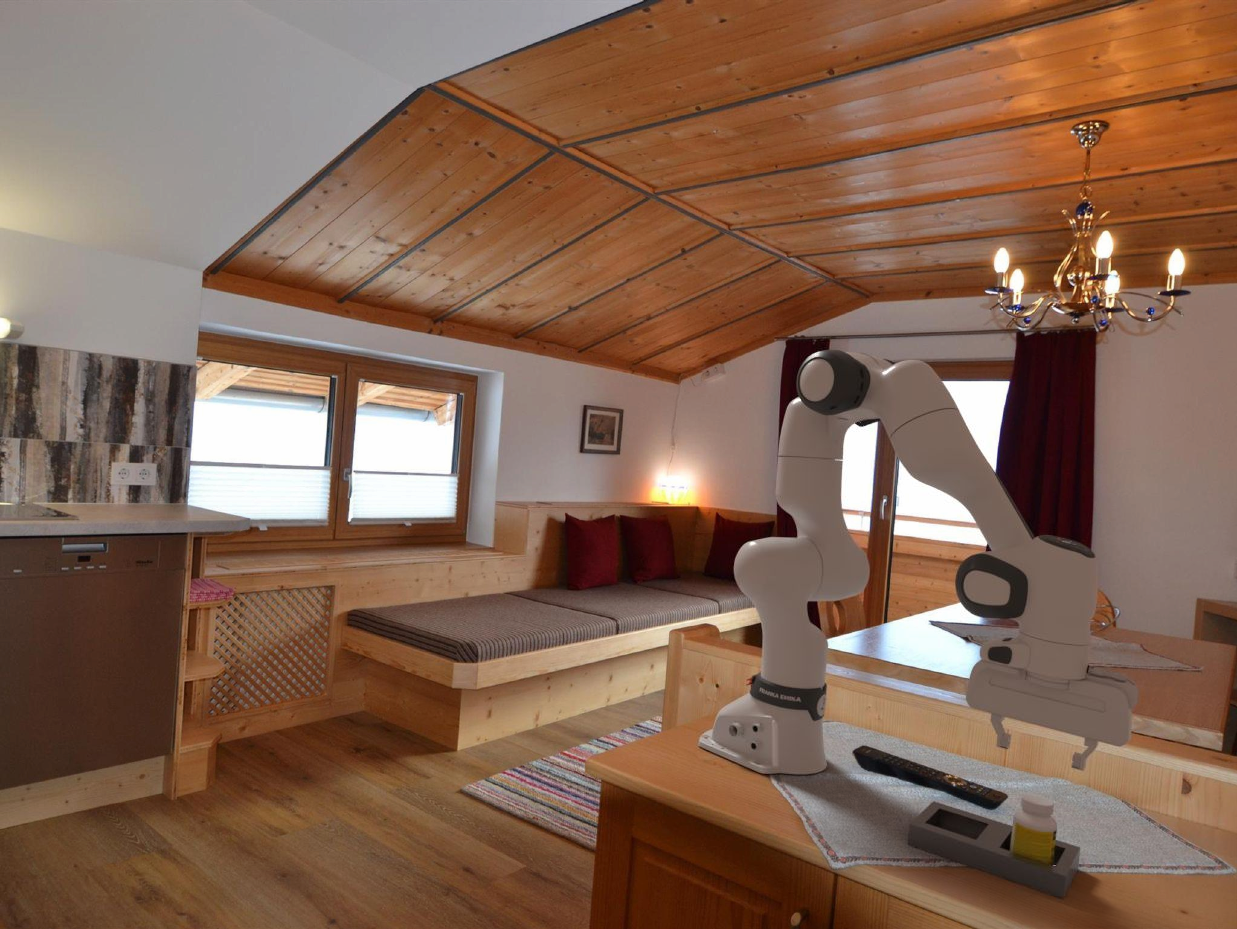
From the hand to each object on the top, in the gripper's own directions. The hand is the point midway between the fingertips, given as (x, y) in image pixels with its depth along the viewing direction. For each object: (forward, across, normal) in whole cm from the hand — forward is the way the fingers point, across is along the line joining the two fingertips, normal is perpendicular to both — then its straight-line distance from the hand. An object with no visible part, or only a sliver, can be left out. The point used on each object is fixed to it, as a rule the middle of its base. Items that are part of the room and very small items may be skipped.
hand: (1039, 757), depth 119 cm
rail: (+15, +4, 0) cm, 16 cm away
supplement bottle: (+16, 0, 0) cm, 16 cm away
